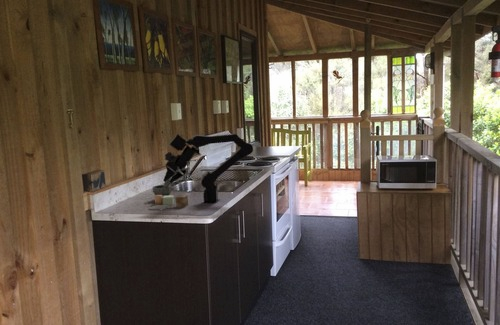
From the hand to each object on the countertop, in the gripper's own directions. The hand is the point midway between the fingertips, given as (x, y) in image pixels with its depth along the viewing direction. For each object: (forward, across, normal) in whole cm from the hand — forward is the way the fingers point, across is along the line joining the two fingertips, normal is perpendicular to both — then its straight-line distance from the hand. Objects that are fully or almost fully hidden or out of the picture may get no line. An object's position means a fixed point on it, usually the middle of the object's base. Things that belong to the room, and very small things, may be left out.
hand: (167, 181), depth 224 cm
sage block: (+9, -6, +6) cm, 12 cm away
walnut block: (+5, -1, +13) cm, 14 cm away
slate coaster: (+12, +3, +6) cm, 14 cm away
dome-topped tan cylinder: (+12, -5, +2) cm, 13 cm away
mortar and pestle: (+11, -16, -1) cm, 20 cm away
